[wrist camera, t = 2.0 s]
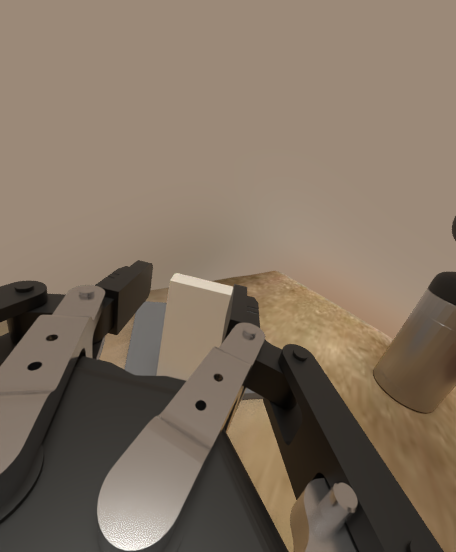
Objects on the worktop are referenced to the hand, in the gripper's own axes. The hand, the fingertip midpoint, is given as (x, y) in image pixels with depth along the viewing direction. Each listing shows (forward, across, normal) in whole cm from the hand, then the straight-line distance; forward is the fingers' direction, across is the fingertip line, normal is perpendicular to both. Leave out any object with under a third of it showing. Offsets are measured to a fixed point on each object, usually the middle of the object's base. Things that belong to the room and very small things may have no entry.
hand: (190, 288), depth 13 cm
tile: (+10, 0, +19) cm, 21 cm away
